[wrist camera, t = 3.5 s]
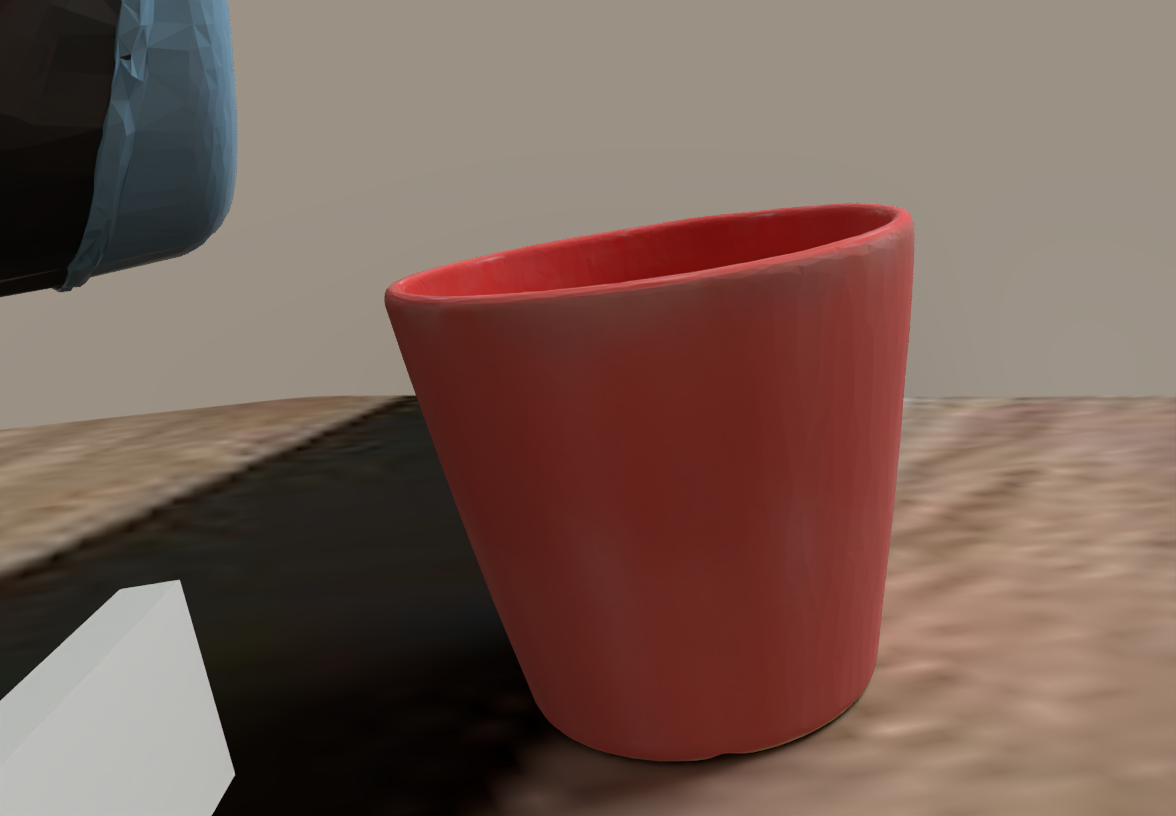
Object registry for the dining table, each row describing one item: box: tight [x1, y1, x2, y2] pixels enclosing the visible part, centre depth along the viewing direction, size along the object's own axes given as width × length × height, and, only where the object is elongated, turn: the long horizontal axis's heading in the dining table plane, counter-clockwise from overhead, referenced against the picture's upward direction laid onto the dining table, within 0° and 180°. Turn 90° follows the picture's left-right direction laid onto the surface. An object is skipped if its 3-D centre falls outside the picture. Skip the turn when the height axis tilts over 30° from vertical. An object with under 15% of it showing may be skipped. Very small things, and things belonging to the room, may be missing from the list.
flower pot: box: [385, 203, 914, 761], centre depth 23 cm, size 11×11×10 cm
